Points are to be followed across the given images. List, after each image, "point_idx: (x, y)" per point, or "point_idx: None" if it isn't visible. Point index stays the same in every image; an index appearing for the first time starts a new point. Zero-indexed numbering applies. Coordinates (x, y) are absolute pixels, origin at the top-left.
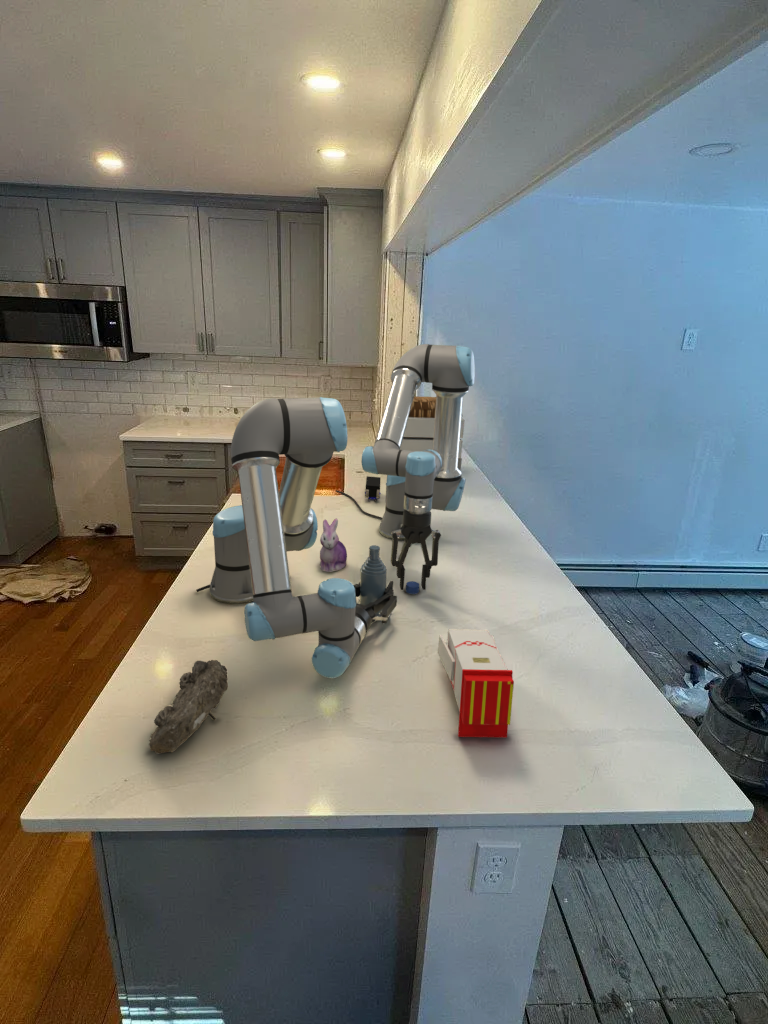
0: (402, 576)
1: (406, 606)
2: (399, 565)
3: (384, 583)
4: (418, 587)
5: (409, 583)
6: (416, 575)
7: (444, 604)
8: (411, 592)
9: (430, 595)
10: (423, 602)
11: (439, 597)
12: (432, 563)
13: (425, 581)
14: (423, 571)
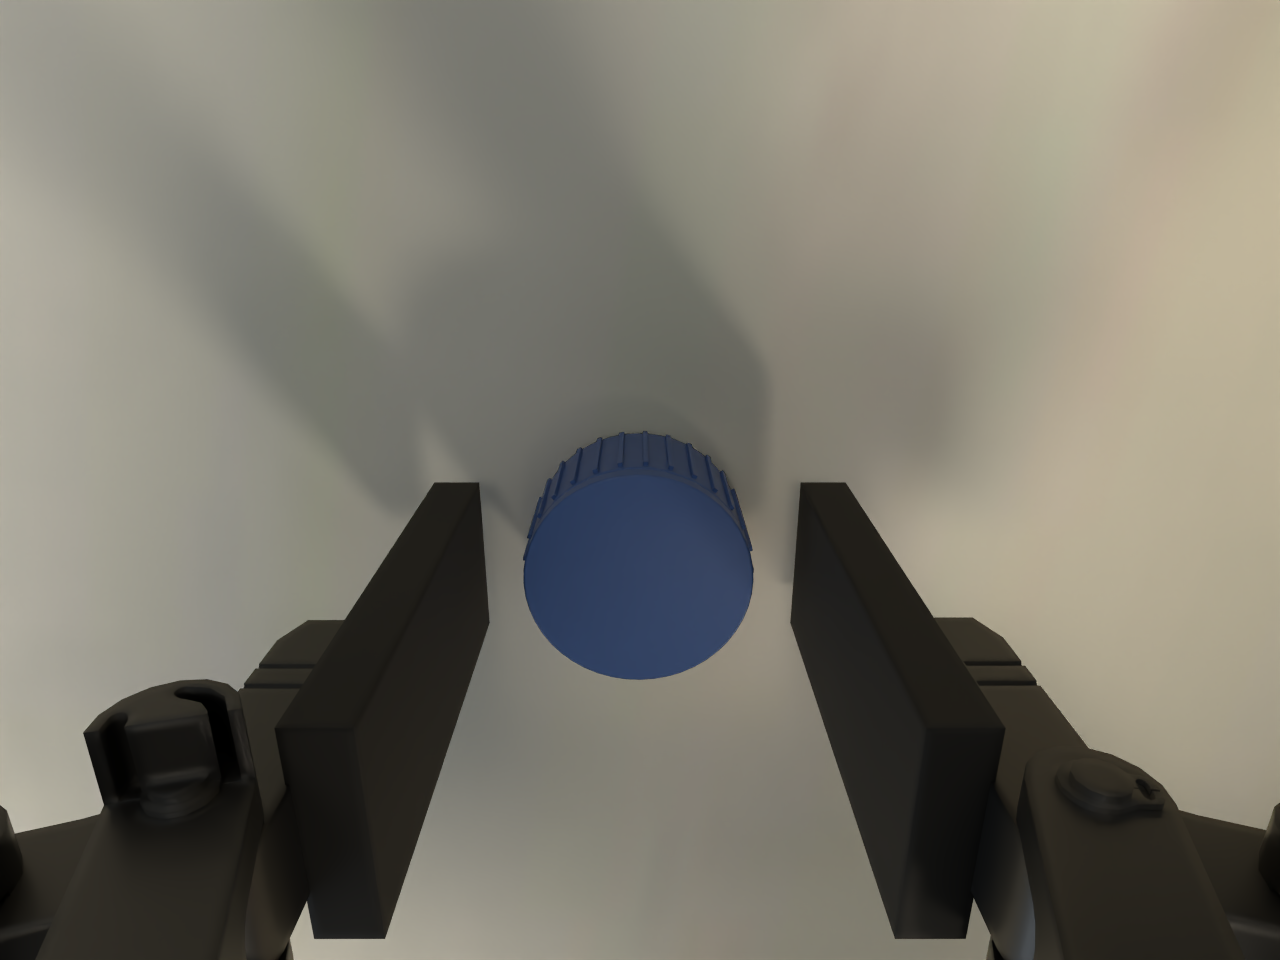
0: (908, 609)
1: (833, 11)
2: (1143, 820)
3: None
4: (546, 506)
5: (689, 609)
6: (511, 923)
7: (143, 61)
8: (670, 443)
9: (368, 391)
10: (509, 153)
11: (225, 320)
12: (28, 891)
13: (400, 547)
14: (395, 714)
